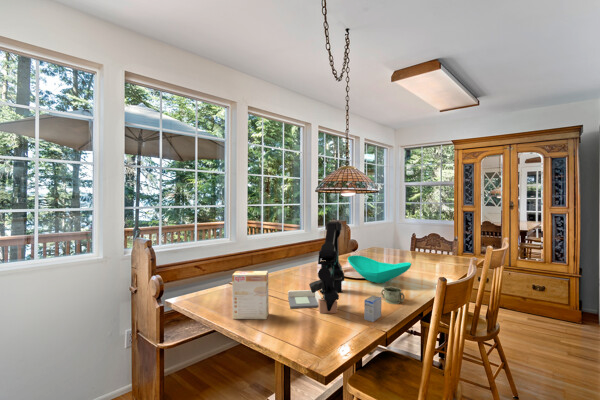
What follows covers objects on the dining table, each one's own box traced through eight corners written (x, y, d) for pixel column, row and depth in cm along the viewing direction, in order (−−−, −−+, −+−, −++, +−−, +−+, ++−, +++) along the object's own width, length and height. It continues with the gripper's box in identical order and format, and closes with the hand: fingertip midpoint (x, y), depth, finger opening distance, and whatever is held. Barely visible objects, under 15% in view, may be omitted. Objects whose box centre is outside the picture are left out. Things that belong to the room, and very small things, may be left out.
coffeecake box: (268, 313, 140) (268, 270, 140) (266, 319, 133) (266, 274, 133) (236, 312, 141) (235, 270, 140) (232, 319, 134) (231, 274, 133)
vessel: (377, 301, 156) (377, 288, 155) (384, 296, 163) (384, 284, 162) (401, 306, 148) (401, 293, 148) (407, 301, 155) (407, 289, 155)
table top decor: (338, 281, 191) (338, 259, 191) (359, 272, 213) (359, 252, 212) (402, 293, 167) (402, 269, 166) (418, 282, 188) (418, 260, 188)
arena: (316, 297, 161) (316, 289, 161) (321, 307, 147) (321, 298, 147) (288, 298, 160) (288, 290, 160) (290, 308, 146) (290, 300, 146)
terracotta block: (335, 309, 145) (335, 298, 145) (337, 312, 141) (337, 301, 141) (318, 309, 145) (318, 298, 144) (319, 313, 140) (319, 301, 140)
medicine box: (372, 314, 139) (372, 295, 139) (381, 316, 136) (381, 297, 136) (364, 319, 133) (364, 299, 133) (373, 322, 130) (373, 302, 130)
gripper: (307, 270, 151) (307, 302, 151) (313, 281, 132) (313, 317, 132) (330, 270, 152) (330, 301, 152) (339, 280, 133) (339, 316, 134)
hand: (327, 308), depth 143 cm, fingers closed on terracotta block, 4 cm apart
